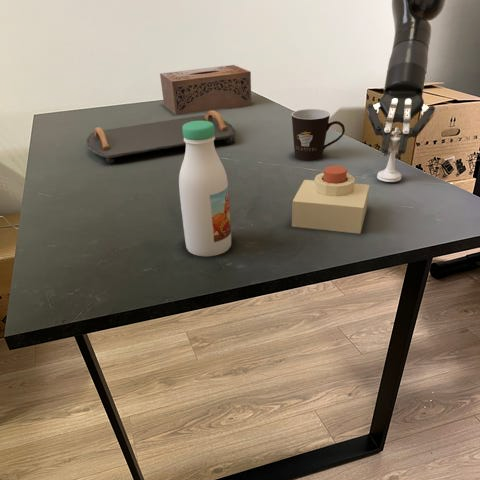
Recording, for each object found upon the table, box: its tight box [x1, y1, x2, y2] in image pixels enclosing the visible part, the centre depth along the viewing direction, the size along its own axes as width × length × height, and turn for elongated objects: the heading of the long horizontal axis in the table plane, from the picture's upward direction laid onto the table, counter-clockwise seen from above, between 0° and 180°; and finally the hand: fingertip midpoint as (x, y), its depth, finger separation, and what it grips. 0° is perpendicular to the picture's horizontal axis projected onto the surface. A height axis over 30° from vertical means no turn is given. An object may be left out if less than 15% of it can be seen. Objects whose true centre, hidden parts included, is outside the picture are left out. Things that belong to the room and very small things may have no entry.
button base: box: [291, 172, 370, 235], centre depth 84 cm, size 12×10×7 cm
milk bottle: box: [178, 121, 232, 257], centre depth 73 cm, size 8×8×20 cm
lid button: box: [323, 165, 348, 184], centre depth 83 cm, size 4×4×2 cm
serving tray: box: [85, 110, 236, 165], centre depth 123 cm, size 39×23×6 cm, turn 113°
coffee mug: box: [291, 108, 346, 162], centre depth 108 cm, size 12×9×10 cm
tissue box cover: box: [159, 64, 252, 116], centre depth 153 cm, size 26×14×10 cm, turn 112°
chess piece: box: [376, 127, 402, 183], centre depth 95 cm, size 5×5×10 cm
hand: (392, 154), depth 93 cm, fingers closed on chess piece
